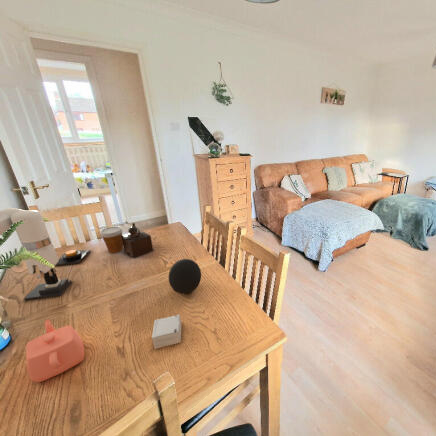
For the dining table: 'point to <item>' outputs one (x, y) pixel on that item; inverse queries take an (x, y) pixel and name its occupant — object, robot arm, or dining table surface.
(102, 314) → the dining table surface
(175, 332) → the small box
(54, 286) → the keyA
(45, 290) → the dark grey base
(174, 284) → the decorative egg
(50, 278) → the robot arm
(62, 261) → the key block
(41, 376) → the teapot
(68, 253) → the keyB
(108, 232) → the disposable coffee cup
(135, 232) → the brown coffee grinder
